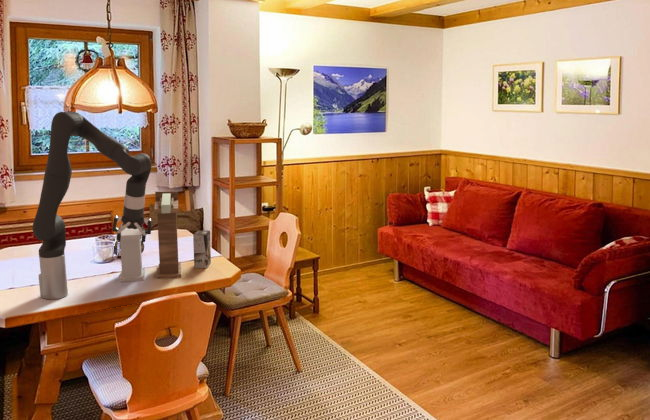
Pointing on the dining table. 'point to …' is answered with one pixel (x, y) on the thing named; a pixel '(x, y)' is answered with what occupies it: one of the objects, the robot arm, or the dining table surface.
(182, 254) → the dining table surface
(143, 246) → the tin
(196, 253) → the coffee box
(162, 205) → the batten
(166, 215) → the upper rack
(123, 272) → the post
